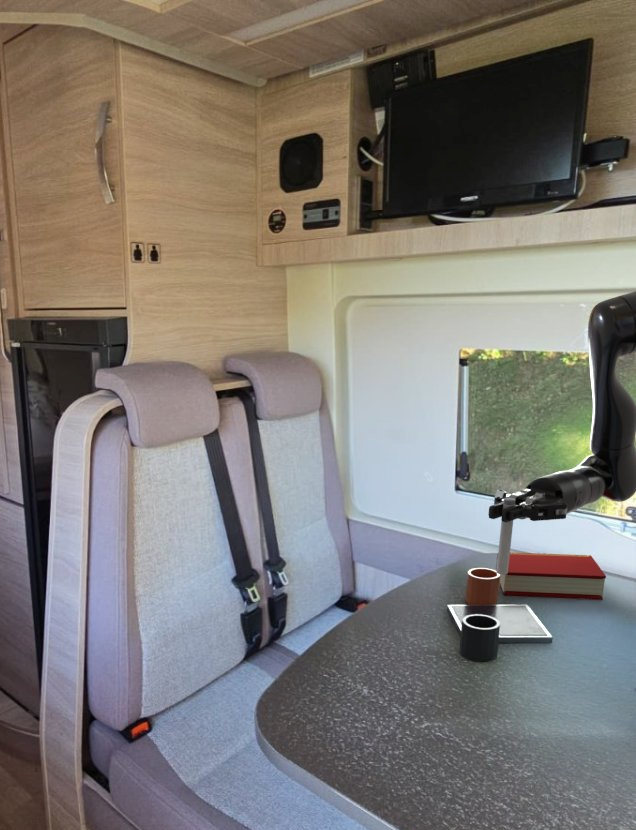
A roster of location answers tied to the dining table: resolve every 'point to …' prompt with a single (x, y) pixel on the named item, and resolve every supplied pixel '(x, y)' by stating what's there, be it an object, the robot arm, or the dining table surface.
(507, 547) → the stylus
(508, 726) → the dining table surface
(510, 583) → the book
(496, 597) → the pen cup
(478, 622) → the holder
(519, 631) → the tablet
